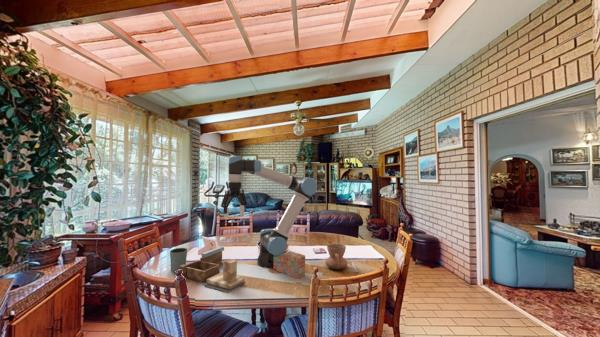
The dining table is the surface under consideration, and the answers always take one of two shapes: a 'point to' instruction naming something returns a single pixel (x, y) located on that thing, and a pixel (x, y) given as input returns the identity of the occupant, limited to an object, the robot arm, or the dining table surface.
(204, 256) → the light grey bar
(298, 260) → the brown patterned box
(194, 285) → the dining table surface
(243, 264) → the dining table surface
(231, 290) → the mat
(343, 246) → the ceramic jug
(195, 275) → the brown wooden open box
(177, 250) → the grey cup
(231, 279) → the lid
